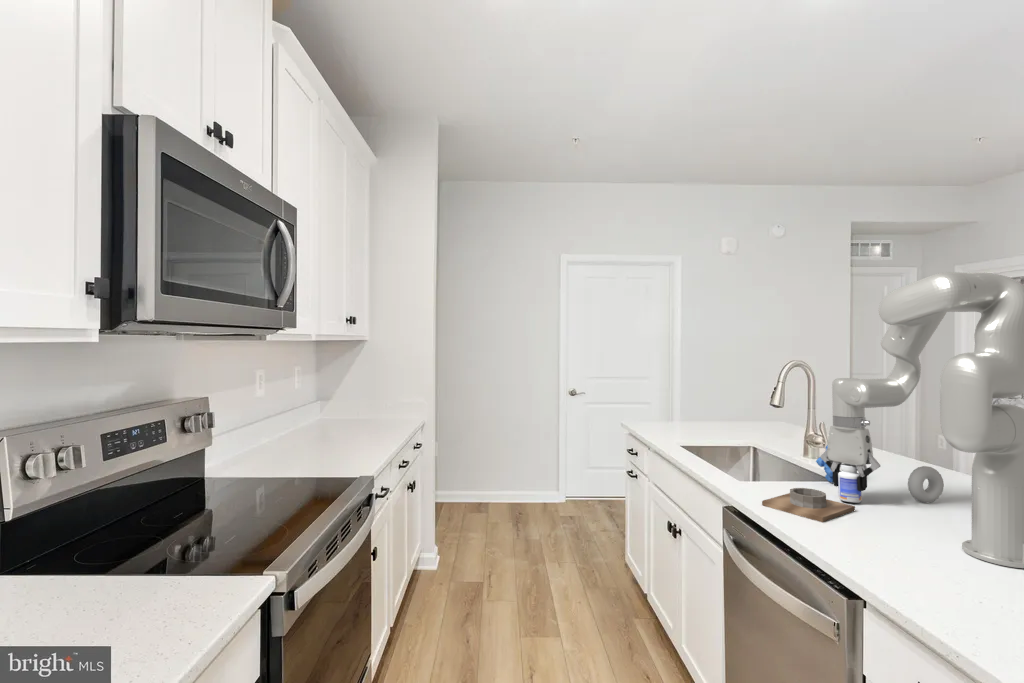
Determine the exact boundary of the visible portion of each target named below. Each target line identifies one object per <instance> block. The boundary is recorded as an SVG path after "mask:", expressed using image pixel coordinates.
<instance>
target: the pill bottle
mask: <svg viewBox="0 0 1024 683" xmlns="http://www.w3.org/2000/svg"><path fill="white" fill-rule="evenodd" d="M840 471H841V472H839V473H838V486H837V487H838V499H839V500H840V501H843V502H846V503H861V502H862V491H861V492H860V491H858V490H857V477H858V476H859V472H858V470H857V467H856V465H850V464H844V463H842V464H841V467H840Z"/></svg>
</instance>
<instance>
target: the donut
mask: <svg viewBox="0 0 1024 683" xmlns="http://www.w3.org/2000/svg"><path fill="white" fill-rule="evenodd" d="M907 479H908V480H907V488H908V491H909V493H910V495H911V496H912V497H913V498H914V499H915V500H917V501H919V502H921V503H926V502H929V503H933V502H935V501H937V500H938V499H939V498H940V497H941V495H942V494H943V491H944V487H945V486H944V479H943V476H942V474H941V473H940V472H939V471H938V470H937V469H935V468H934V467H932V466H926V465H923V466H919V467H916V468H915V469H914V470H913V471H912V472H910V475H909V476H908V478H907ZM926 480H927V482H928V483H927V484H928V485H927V487H926V489H924V482H925V481H926Z"/></svg>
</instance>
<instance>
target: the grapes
mask: <svg viewBox="0 0 1024 683" xmlns="http://www.w3.org/2000/svg"><path fill="white" fill-rule="evenodd" d="M827 449H828V444H826V446H825V451H826V450H827ZM815 463H816V464H817V465H818V466H819V467H820V468H823V470H824V473H825V476H824V478H825V480H827V482H829V483H831V484H834V482H833V472H832V471H831V470H830V468H829V466H828V465H827V464H826V462H824V461H823V460H822V459H821V457H818V458H817V459H816V461H815Z"/></svg>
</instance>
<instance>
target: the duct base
mask: <svg viewBox="0 0 1024 683" xmlns="http://www.w3.org/2000/svg"><path fill="white" fill-rule="evenodd" d="M761 502H762V503H761V506H763V507H767V508H771V509H775V510H778V511H780V512H786V513H789V514H792V515H796V516H800V517H803V518H805V517H806V519H810V520H812V521H817V522H819V523H820V522H821V523H824V522H828V521H830V519H831V520H833V519H836V518H839V517H842V516H844V515H843V514H845V515H847V514H850V513H853V512H855V511H856V505H850V504H847V503H843V502H839V501H835V500H831V499H827V494H826V492H825V491H824V492H823V491H822V490H819V489H815V488H807V487H806V488H805V487H793V488H790V489H789V492H788V493H785V494H782V495H778V496H774V497H771V498H768V499H764V500H761ZM854 510H855V511H854ZM852 511H853V512H852ZM849 512H850V513H849ZM846 513H847V514H846ZM841 515H842V516H841ZM838 516H839V517H838ZM835 517H836V518H835ZM827 520H828V521H827Z"/></svg>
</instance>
